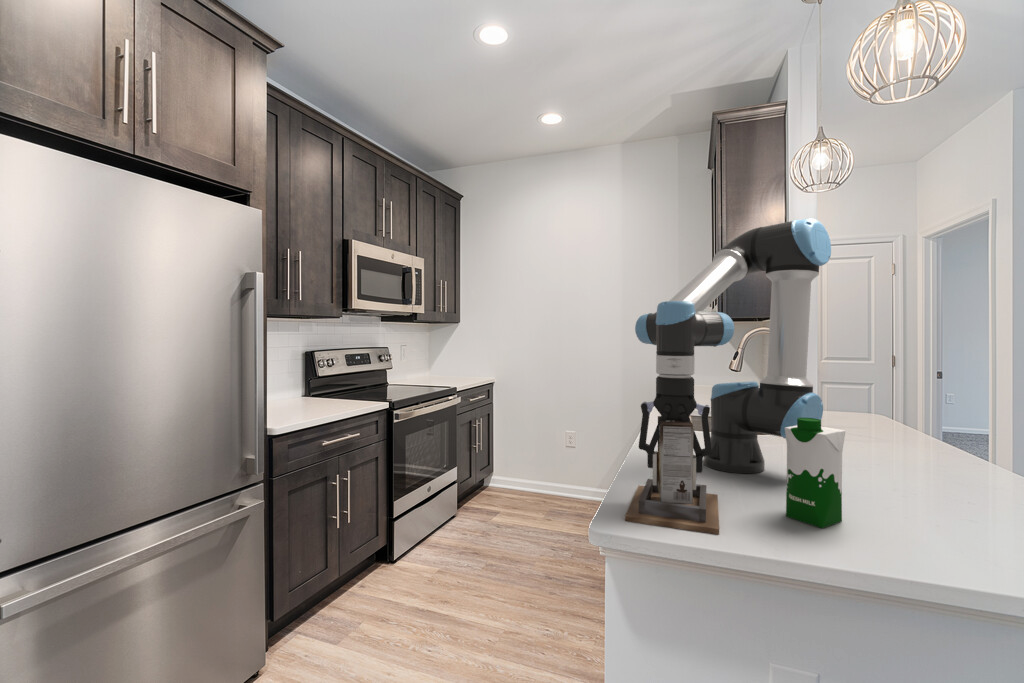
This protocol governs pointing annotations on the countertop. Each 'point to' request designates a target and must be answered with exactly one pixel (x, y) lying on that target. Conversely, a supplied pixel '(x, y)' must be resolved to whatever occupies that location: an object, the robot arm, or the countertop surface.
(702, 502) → the pocket board
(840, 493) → the milk carton
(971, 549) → the countertop surface
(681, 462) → the coffee box
